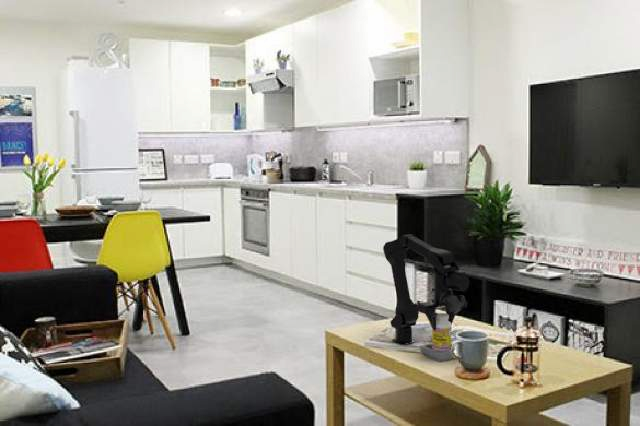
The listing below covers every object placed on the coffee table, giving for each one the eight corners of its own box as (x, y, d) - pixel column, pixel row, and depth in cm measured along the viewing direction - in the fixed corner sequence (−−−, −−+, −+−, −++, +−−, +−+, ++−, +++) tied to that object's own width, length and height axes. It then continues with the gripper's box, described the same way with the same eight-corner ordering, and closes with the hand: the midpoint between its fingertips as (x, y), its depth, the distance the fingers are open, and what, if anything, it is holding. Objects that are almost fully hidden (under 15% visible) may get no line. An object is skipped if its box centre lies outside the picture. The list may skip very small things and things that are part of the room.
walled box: (420, 353, 248) (420, 345, 248) (443, 348, 254) (443, 340, 253) (439, 362, 239) (439, 354, 239) (463, 356, 244) (463, 348, 244)
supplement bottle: (429, 350, 245) (430, 315, 243) (435, 345, 251) (435, 311, 249) (447, 353, 242) (448, 318, 240) (453, 347, 248) (453, 313, 246)
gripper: (435, 294, 232) (435, 338, 234) (477, 287, 241) (476, 330, 243) (416, 287, 241) (415, 330, 243) (456, 281, 250) (456, 322, 252)
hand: (441, 328), depth 245 cm, fingers closed on supplement bottle, 7 cm apart
